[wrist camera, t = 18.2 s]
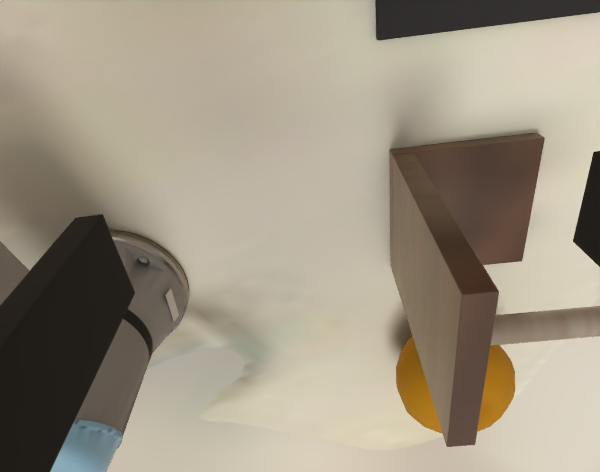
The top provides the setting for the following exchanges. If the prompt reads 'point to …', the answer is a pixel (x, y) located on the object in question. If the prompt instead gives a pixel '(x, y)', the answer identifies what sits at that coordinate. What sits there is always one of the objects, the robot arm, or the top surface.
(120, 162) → the top surface
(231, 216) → the top surface
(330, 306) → the top surface
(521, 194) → the hook board
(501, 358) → the apple
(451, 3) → the mat
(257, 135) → the top surface
